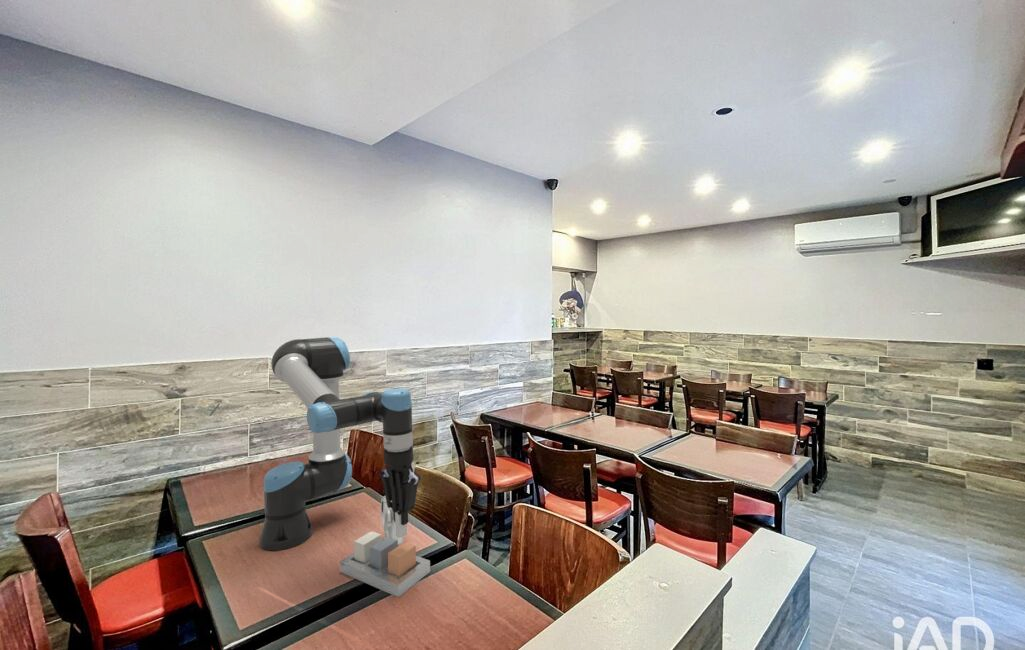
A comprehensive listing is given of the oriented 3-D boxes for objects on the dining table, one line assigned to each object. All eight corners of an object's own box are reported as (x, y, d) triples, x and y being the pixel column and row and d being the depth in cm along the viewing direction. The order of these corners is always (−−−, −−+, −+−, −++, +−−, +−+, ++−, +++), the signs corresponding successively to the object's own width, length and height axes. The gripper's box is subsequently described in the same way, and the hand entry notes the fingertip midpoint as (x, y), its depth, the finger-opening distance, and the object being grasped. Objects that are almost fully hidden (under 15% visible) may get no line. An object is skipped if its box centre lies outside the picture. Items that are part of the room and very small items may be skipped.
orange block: (388, 571, 113) (387, 553, 112) (405, 559, 118) (404, 542, 118) (399, 576, 111) (398, 557, 110) (416, 563, 116) (415, 545, 116)
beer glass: (399, 551, 129) (397, 503, 129) (377, 549, 130) (376, 501, 130) (409, 539, 136) (407, 493, 135) (388, 538, 137) (387, 492, 137)
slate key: (371, 565, 116) (370, 547, 116) (388, 553, 121) (387, 536, 121) (381, 569, 114) (380, 551, 114) (398, 557, 119) (397, 540, 119)
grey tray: (340, 575, 118) (340, 561, 118) (374, 553, 128) (374, 540, 128) (398, 600, 107) (397, 585, 107) (430, 574, 117) (429, 560, 117)
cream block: (354, 558, 119) (353, 541, 119) (372, 547, 125) (371, 531, 124) (364, 562, 117) (363, 544, 117) (381, 551, 123) (381, 534, 122)
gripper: (370, 448, 113) (373, 536, 114) (406, 455, 107) (409, 548, 107) (391, 440, 120) (394, 523, 120) (426, 447, 113) (429, 534, 114)
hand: (401, 535), depth 114 cm, fingers closed
